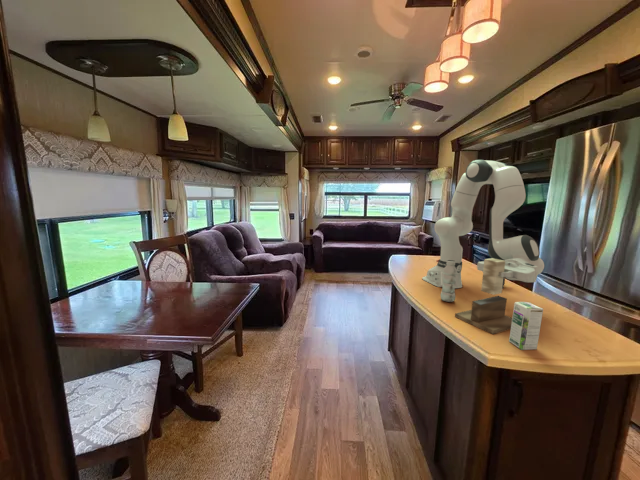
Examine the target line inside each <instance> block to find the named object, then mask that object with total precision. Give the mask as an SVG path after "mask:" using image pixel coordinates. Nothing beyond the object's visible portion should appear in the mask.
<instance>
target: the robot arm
mask: <svg viewBox="0 0 640 480" xmlns="http://www.w3.org/2000/svg"><path fill="white" fill-rule="evenodd" d="M484 185H488V186H493V188H494V189H493V191H494V203H493V206H492V207H491V208H490V211H489V229H488V230H489V238H488V246H487V253H488V254H487V255H489V258H490V259H491V258H494V259H499V260H504V261H505V269H504V272H499V275H498V276H499V277H505V279H507V280H509V281H520V282H523V283H536V281H537V278H538V275H540V274H542V272H543V271H544V269H545V262H544V260H543V259H542V258H540V253H541V252H540V246H539V243H538V242H537V240H535V239H534V238H533V237H531V236H529V235H527V234H523V235H518V236H513V237H509V238H504V221H505V220H506V218H508V216H509V215H511V214H512V213H513V212H515V211H516V210H518V209H519V208H520V207H521V206H522V205H523V204H524V202H525V201H526V195H527V194H526V188H525V185H524V181H523V178H522V175H521V173H520V171H519V169H518V168H517V167H516V166H513V165H509V164H507V163H504V162H500V161H495V160H487V159H486V160H484V159H475V160H472V161H471V162H469V164H468V165H467V167H466V169H465V172H464V173H463V174H462V175H461V177H460V179H459V181H458V182H457V185H456V187H455V191H454V193H453V196H452V199H451V201H450V206H451V210H452V212H451V216H449V217H448V216H447V217H443V218H440V219H438V220H437V221H435V223H434V226H433V227H434V232H435V233H436V235H437V236H438V239H439V243H440V255H439V256H440V258H439V259H436V260H435V261H436V263H437V264H436V265H435V266H432V267H431V268H429V269H428V270H427V272H426V275H425V276H422V278H421V279H422V280H423V281H424V282H427V283H428V284H431V285H433V286H435V287H439V288H442V287H443V269H444V268H445V267H446V266H447V264H446V263H447V260H454V261H455V265H454V266H455V268H456V269H457V277H456V281H455V289H461V288H463V283H462V281H463V280H462V269H463V261H462V260H463V252H464V251H463V250H464V249H463V246H462V245H461V243H460V237H462V236H465V235H468V234H469V233H470V232H472V230H473V228H474V225H473V224H474V223H473V221H472V216H473V215H472V214H473V210H474V207H475V204H476V201H477V198H478V195H479V193H480V190H481V188H482V186H484ZM476 264H477V265H476V269H477V271H480V272H482V273H483V269H484V260H482V261H478V262H477V263H476Z"/></svg>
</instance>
